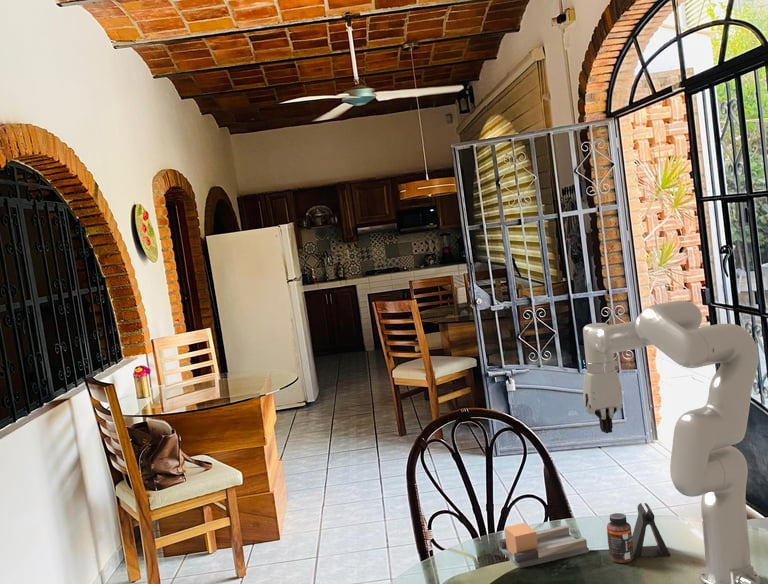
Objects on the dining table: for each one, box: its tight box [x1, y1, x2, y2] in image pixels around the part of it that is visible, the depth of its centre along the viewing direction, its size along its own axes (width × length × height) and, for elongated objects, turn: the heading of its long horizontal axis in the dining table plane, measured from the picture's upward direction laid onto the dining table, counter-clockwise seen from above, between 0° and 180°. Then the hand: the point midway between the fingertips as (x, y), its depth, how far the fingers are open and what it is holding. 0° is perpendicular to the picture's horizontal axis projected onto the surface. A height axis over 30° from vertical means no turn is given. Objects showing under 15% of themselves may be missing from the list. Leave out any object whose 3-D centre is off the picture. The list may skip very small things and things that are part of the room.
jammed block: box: [504, 522, 538, 555], centre depth 196 cm, size 7×6×6 cm
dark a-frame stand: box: [632, 502, 671, 559], centre depth 189 cm, size 9×6×12 cm, turn 82°
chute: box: [498, 524, 590, 569], centre depth 198 cm, size 13×20×3 cm, turn 104°
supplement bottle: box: [606, 512, 635, 564], centre depth 187 cm, size 6×6×11 cm
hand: (606, 431), depth 207 cm, fingers closed
